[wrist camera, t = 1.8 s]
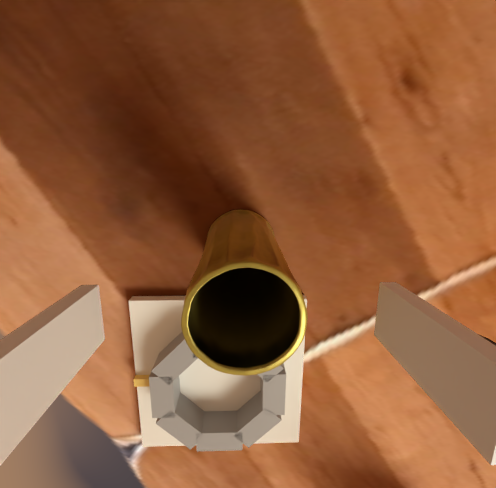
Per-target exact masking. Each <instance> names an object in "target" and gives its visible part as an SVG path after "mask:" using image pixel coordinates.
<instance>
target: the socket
mask: <svg viewBox="0 0 496 488" xmlns="http://www.w3.org/2000/svg"><path fill="white" fill-rule="evenodd" d="M185 297H186V296H132V297H131V299H130V300H129V311H130V321H131V332H132V342H133V352H134V363H135V373H136V375H135V377H134V379H133V380H134V387H137V393H138V404H139V414H140V424H141V435H142V445H143V447H147V446H182V445H185V446H186V447H188V448H189V449H191V448H193V447H194V446H195V445H197V451H226V450H242V444H245V445H246V446H247V447H248V448H249V447H250V446H251V445H253V444H254V443H288V442H299V429H300V412H301V394H302V377H303V360H304V343H305V336H304V339H303V341H302V343H301V344H300V346H299V347H298V349H297V350H296V351H295V352H294V354H293V355H292V356H291V357H290V358H289V359H288V360H286V361H285V362H284V363H283V364H281V365H280V366H278V367H276V368H274V369H272V370H270V371H267V372H264V373H260V374H257V375H248V376H242V375H232V374H226V373H223V372H219V371H217V370H215V369H213V368H211V367H209V366H207V365H206V364H205V363H204V362H202V361H201V360H200V359H199V358H197V357H196V356H195V355H194V354H193V352H192V351H191V350H190V348H189V347H188V345H187V343H186V341H185V339H184V336H183V333H182V328H181V317H182V311H183V306H184V301H185ZM303 298H304V301H305V305H306V308H307V298H306V296H305V295H303Z"/></svg>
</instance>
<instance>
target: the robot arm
mask: <svg viewBox="0 0 496 488" xmlns="http://www.w3.org/2000/svg"><path fill="white" fill-rule="evenodd" d="M374 335H375V336H376V338H377V339H378V340H379V341H380V342H381V343H382V344H383V345H384V346H385V348H386V349H387V350H388V351H389V352H390V353H391V354H392V355H393V357H394V358H395V359H396V360H397V361H398V362H399V363H400V364H401V365H402V367H403V368H404V369H405V370H406V371H407V372H408V373H409V374H410V375H411V377H412V378H413V379H414V380H415V381H416V382H417V383H418V384H419V386H420V387H421V388H422V389H423V390H424V391H425V392H426V393H427V394H428V396H429V397H430V398H431V399H432V400H433V401H434V402H435V403H436V404H437V406H438V407H439V408H440V409H441V410H442V411H443V412H444V413H445V415H446V416H447V417H448V418H449V419H450V420H451V421H452V422H453V423H454V425H455V426H456V427H457V428H458V429H459V430H460V431H461V432H462V434H463V435H464V436H465V437H466V438H467V439H468V440H469V441H470V442H471V444H472V445H473V446H474V447H475V448H476V449H477V450H478V451H479V452H480V454H481V455H482V456H483V457H484V458H485V459H486V460H487V461H488V463H489V464H490V465H496V343H495V342H493V341H491V340H490V339H488V338H486V337H483V336H481V335H479V334H477V333H475V332H473V331H472V330H470V329H469V328H467V327H465V326H464V325H462V324H461V323H459V322H458V321H456V320H454V319H453V318H451V317H450V316H448V315H447V314H445V313H443V312H442V311H440V310H439V309H437V308H436V307H434V306H432V305H431V304H429V303H428V302H426V301H425V300H423V299H421V298H420V297H418V296H417V295H415V294H414V293H412V292H410V291H409V290H407V289H406V288H404V287H402V286H401V285H399V284H398V283H396V282H380V287H379V296H378V305H377V314H376V322H375V331H374ZM104 340H105V336H104V327H103V318H102V309H101V301H100V292H99V285H81V286H79V287H78V288H76V289H75V290H73V291H72V292H71V293H69V294H68V295H66V296H65V297H63V298H62V299H60V300H59V301H57V302H56V303H54V304H53V305H51V306H50V307H48V308H47V309H45V310H44V311H42V312H41V313H39V314H38V315H36V316H35V317H33V318H32V319H30V320H29V321H27V322H26V323H24V324H23V325H22V326H20V327H19V328H17V329H16V330H14V331H13V332H11V333H10V334H8V335H7V336H5V337H4V338H2V339H1V340H0V465H1V464H2V463H3V462H4V461H5V459H6V458H7V457H8V456H9V455H10V453H11V452H12V451H13V450H14V449H15V447H16V446H17V445H18V444H19V443H20V441H21V440H22V439H23V438H24V436H25V435H26V434H27V433H28V432H29V430H30V429H31V428H32V427H33V426H34V424H35V423H36V422H37V421H38V420H39V418H40V417H41V416H42V415H43V413H44V412H45V411H46V410H47V408H49V406H50V405H51V404H52V403H53V401H54V400H55V399H56V398H57V397H58V395H59V394H60V393H61V392H62V391H63V389H64V388H65V387H66V386H67V385H68V383H69V382H70V381H71V380H72V379H73V377H74V376H75V375H76V374H77V372H78V371H79V370H80V369H81V368H82V366H83V365H84V364H85V363H86V362H87V360H88V359H89V358H90V357H91V356H92V354H93V353H94V352H95V351H96V350H97V348H98V347H99V346H100V345H101V344H102V342H103V341H104Z"/></svg>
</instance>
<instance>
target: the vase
mask: <svg viewBox="0 0 496 488" xmlns="http://www.w3.org/2000/svg"><path fill="white" fill-rule="evenodd" d="M306 326H307V309H306V305H305V301H304V298H303V295H302V292H301V290H300V288H299V285H298V284H297V282H296V280H295V279H294V277H293V275H292V273H291V271H290V269H289V267H288V265H287V263H286V260H285V258H284V256H283V254H282V252H281V250H280V248H279V246H278V244H277V241H276V239H275V236H274V232H273V230H272V228H271V226H270V224H269V223H268V222H267V220H265V219H264V218H263V217H262V216H260V215H259V214H257V213H255V212H253V211H249V210H232V211H229V212H227V213H225V214H223V215H222V216H220V217H219V218H217V219H216V220H215V221H214V223H213V224H212V226H211V227H210V229H209V231H208V234H207V241H206V244H205V248H204V252H203V255H202V258H201V260H200V263H199V265H198V267H197V269H196V271H195V273H194V275H193V277H192V280H191V282H190V284H189V287H188V289H187V293H186V297H185V301H184V306H183V311H182V317H181V328H182V333H183V336H184V339H185V341H186V343H187V345H188V347H189V348H190V350H191V351H192V352H193V354H194V355H195V356H196V357H197V358H199V359H200V360H201V361H202V362H204V363H205V364H206V365H207V366H209V367H211V368H213V369H215V370H217V371H219V372H223V373H226V374H232V375H242V376H248V375H257V374H260V373H264V372H267V371H270V370H272V369H274V368H276V367H278V366H280V365H281V364H283V363H284V362H285V361H286V360H288V359H289V358H290V357H291V356H292V355H293V354H294V352H295V351H296V350H297V349H298V347H299V346H300V344H301V343H302V341H303V339H304V336H305V332H306Z"/></svg>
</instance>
